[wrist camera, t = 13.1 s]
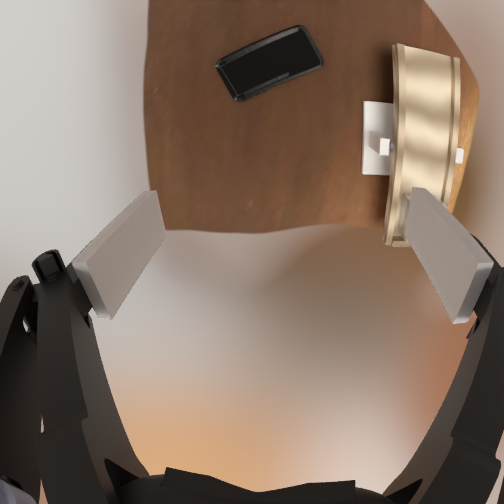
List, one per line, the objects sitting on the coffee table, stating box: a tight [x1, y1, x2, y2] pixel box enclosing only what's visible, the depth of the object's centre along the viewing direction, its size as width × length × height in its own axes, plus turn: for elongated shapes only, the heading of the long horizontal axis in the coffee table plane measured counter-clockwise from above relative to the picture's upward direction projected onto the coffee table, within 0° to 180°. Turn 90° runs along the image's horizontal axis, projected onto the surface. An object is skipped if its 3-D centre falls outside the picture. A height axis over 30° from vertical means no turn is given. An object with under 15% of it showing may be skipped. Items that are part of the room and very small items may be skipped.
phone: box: [216, 25, 324, 101], centre depth 36 cm, size 8×1×15 cm
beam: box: [382, 43, 460, 247], centre depth 34 cm, size 30×11×5 cm, turn 4°
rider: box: [398, 193, 448, 243], centre depth 33 cm, size 6×6×13 cm
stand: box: [361, 101, 464, 175], centre depth 39 cm, size 20×16×7 cm
